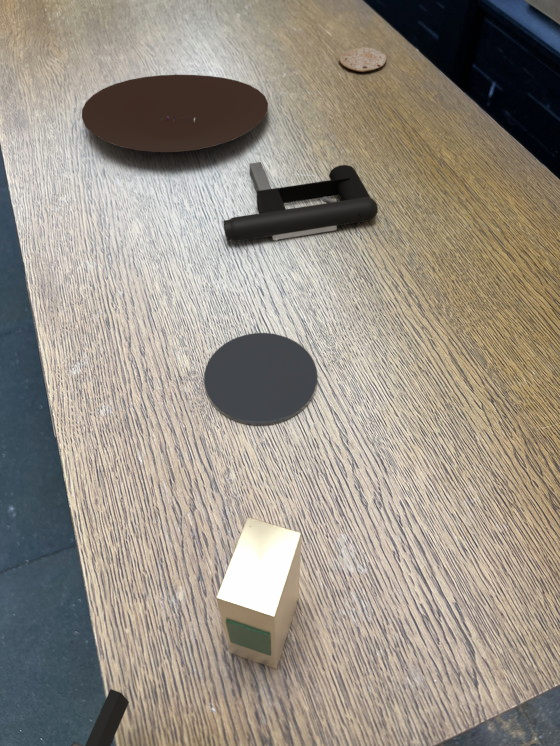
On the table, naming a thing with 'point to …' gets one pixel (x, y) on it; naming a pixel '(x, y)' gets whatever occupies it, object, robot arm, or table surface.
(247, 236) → the door handle
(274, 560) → the tea tin
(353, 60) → the flatbread
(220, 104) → the plate
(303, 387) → the coaster
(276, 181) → the table surface
